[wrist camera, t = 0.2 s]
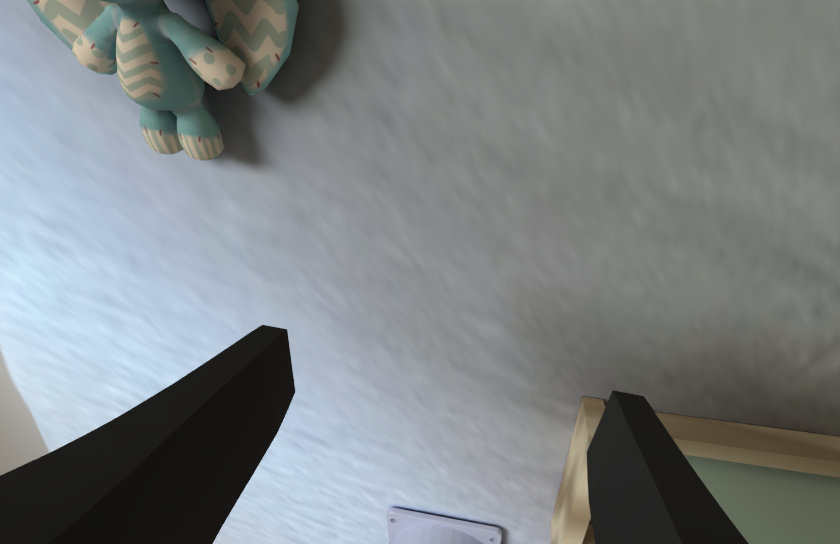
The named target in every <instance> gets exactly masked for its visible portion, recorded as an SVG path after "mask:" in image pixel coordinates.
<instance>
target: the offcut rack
mask: <svg viewBox="0 0 840 544" xmlns="http://www.w3.org/2000/svg"><path fill="white" fill-rule="evenodd" d="M605 408H606V405H604V401H603V399H597V398H590V397H582V400H581V404H580V409H579V413H578V417H577V421H576V425H575V429H574V433H573V437H572V441H571V445H570V449H569V453H568V457H567V461H566V465H565V469H564V473H563V477H562V481H561V485H560V489H559V493H558V497H557V501H556V505H555V509H554V513H553V517H552V521H551V544H595V539H594V533H593V526H592V524H590V523H589V521H590V518H591V514H590V507H589V498H588V480H587V450H588V448H589V445H590V443H591V441H592V438H593V436H594V434H595V431H596V429H597V427H598V424H599V422H600V420H601V417H602V415H603V412H604V410H605ZM655 413H656V415H657V416H658V418H659V419H660V421H661V422H662V424H663V425H664V427H665V428H666V430H667V431H668V433H669V434H670V436H671V437H672V438H673V440H674V441H675V443H676V444H677V446H678V447H679V449H680V450H681V452H682V453H683V454H684V455H691V456H698V457H704V458H711V459H718V460H725V461H731V462H738V463H745V464H751V465H758V466H765V467H771V468H778V469H785V470H792V471H798V472H805V473H812V474H818V475H825V476H832V477H839V478H840V437H837V436H830V435H823V434H815V433H808V432H800V431H793V430H785V429H778V428H771V427H763V426H756V425H748V424H741V423H733V422H726V421H719V420H711V419H704V418H696V417H689V416H681V415H674V414H667V413H659V412H655Z"/></svg>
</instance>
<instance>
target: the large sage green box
mask: <svg viewBox="0 0 840 544" xmlns="http://www.w3.org/2000/svg"><path fill="white" fill-rule="evenodd" d="M683 455H684V454H683ZM684 456H685V457H686V459H687V460H688V462H689V463H690V465H691V466H692V468H693V469H694V470H695V472H696V473H697V475H698V476H699V477H700V479H701V480H702V482H703V483H704V484H705V486H706V487H707V488H708V490H709V491H710V493H711V494H712V495H713V497H714V498H715V499H716V501H717V502H718V504H719V505H720V506H721V508H722V509H723V510H724V512H725V513H726V514H727V516H728V517H729V518H730V520H731V521H732V522H733V524H734V525H735V526H736V528H737V529H738V530H739V532H740V533H741V534H742V535H743V537H744V538H745V539H746V541H747V542H748V543H749V544H840V478H839V477H832V476H825V475H818V474H812V473H805V472H798V471H792V470H785V469H778V468H771V467H765V466H758V465H751V464H745V463H738V462H731V461H725V460H718V459H711V458H704V457H698V456H691V455H684Z"/></svg>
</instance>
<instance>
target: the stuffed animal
mask: <svg viewBox="0 0 840 544" xmlns="http://www.w3.org/2000/svg"><path fill="white" fill-rule="evenodd" d="M27 1H28V2H29V4H30V5H31V7H32V8H33V10H34V11H35V12H36V14H37V15H38V17H39V18H40V20H41V21H42V22H43V23H44V24H45V25H46V26H47V27H48V28H49V29H50V30H51V31H52V32H53V33H54V34H55V35H56V36H57V37H58V38H59V39H60V40H61V41H62V42H64V43H65V44H66V45H67V46H68V47H69V48H70V49H71V50H72V53H73V54H74V56H75V57H76V58H77V59H78V61H79V62H80V63H81V64H82V65H84V66H85V67H87V68H89V69H91V70H93V71H95V72H97V73H99V74H110V75H112V74H114V73H116V72H117V74H118V79H119V81H120V84H121V86H122V88H123V90H124V92H125V94H126V95H127V96H128V97H129V98H131V99H132V100H133V101H134V102H136V103H137V104H140V105H141V111H140V126H141V130H142V133H143V136H144V138H145V139H146V141H147V143H148V145H149V146H150V148H151V149H152V150H154V151H156V152H158V153H162V154H175V153H177V152H180V151H182V150H183V149H184V150H185V152H186V154H187V155H188V156H190V157H192V158H194V159H198V160H210V159H213V158H215V157H217V156H218V155H219V154H221V153H222V151H223V149H224V143H223V137H222V132H221V130H220V128H219V126H218V124H217V122H216V120H215V119H214V118H213V117H212V115H211V114H210V113H209V112H208V110H207V109H206V107H205V106H204V104H203V102H202V100H201V99H202V97H203V94H204V91H205V86H204V81H206V82H207V83H209V84H210V85H212V86H213V87H214V88H216V89H217V90H223V89H229V88H233V87H234V86H235V85H236V84H237V83H239V82H240V83H241V85H242V87H243V88H244V89H245V90H246V91H247V93H248V94H249V95H250V96H251V95H254V94H256V93H258V92H260V91H262V90H264V89H266V87H267V86H268V85H269V83H270V82H271V80H272V79H273V78H274V76H275V75H276V73H277V72H278V71H279V69H280V68H281V66H282V65H283V64H284V62H285V61H286V59H287V58H288V57H289V55H290V51H291V45H292V40H293V35H294V30H295V25H296V20H297V14H298V9H299V6H298V3H297V0H205V2H206V5H207V8H208V11H209V14H210V17H211V20H212V23H213V25H214V28H215V31H216V34H217V36H218V38H219V40H220V42H221V43H220V42H218V41H217V40H215V39H213V38H212V37H211V36H209V35H208V34H206V33H205V32H203V31H202V30H200V29H198V28H196V27H194V26H193V25H191V24H190V23H189V22H187V21H186V20H185V19H184V18H183V17H181V16H180V15H179V14H177V13H173V12H171V11H170V10H169V9H168V7H167V6H166V4H165V2H164V0H27ZM172 111H173V112H174V113H175V114H174V113H173V112H172Z"/></svg>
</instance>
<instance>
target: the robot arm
mask: <svg viewBox="0 0 840 544" xmlns="http://www.w3.org/2000/svg"><path fill="white" fill-rule="evenodd" d="M294 393H295V386H294V379H293V371H292V363H291V356H290V348H289V341H288V333H287V329H282V328H276V327H271V326H266V325H262V326H260V327H258V328H257V329H255V330H254V331H252V332H251V333H249V334H248V335H246V336H245V337H243V338H242V339H240V340H239V341H237V342H236V343H234V344H233V345H231V346H230V347H228V348H227V349H225V350H224V351H222V352H221V353H219V354H218V355H216V356H215V357H213V358H212V359H210V360H209V361H207V362H206V363H204V364H203V365H201V366H200V367H198V368H197V369H195V370H194V371H192V372H191V373H189V374H188V375H186V376H185V377H183V378H181V379H180V380H178V381H177V382H175V383H174V384H172V385H170V386H169V387H167V388H165V389H164V390H162V391H161V392H159V393H157V394H156V395H154V396H152V397H151V398H149V399H147V400H146V401H144V402H142V403H141V404H139V405H137V406H136V407H134V408H132V409H131V410H129V411H127V412H126V413H124V414H122V415H121V416H119V417H117V418H115V419H113V420H112V421H110V422H108V423H106V424H104V425H103V426H101V427H99V428H97V429H95V430H93V431H92V432H90V433H88V434H86V435H84V436H82V437H80V438H78V439H76V440H74V441H72V442H70V443H68V444H66V445H64V446H63V447H61V448H59V449H57V450H55V451H53V452H50V453H48V454H46V455H44V456H42V457H40V458H38V459H36V460H33V461H31V462H29V463H27V464H25V465H23V466H21V467H18V468H16V469H14V470H12V471H10V472H7V473H5V474H3V475H1V476H0V544H213V542H214V540H215V538H216V536H217V534H218V533H219V531H220V529H221V527H222V525H223V524H224V522H225V520H226V518H227V517H228V515H229V513H230V512H231V510H232V508H233V507H234V505H235V503H236V502H237V500H238V498H239V497H240V495H241V493H242V492H243V490H244V488H245V487H246V485H247V483H248V482H249V480H250V478H251V477H252V475H253V473H254V472H255V470H256V468H257V466H258V465H259V463H260V461H261V460H262V458H263V456H264V455H265V453H266V451H267V449H268V448H269V446H270V444H271V443H272V441H273V439H274V437H275V436H276V434H277V432H278V430H279V428H280V426H281V423H282V421H283V419H284V417H285V415H286V412H287V410H288V408H289V405H290V403H291V401H292V398H293V396H294ZM587 480H588V498H589V507H590V514H591V520H592V526H593V533H594V539H595V544H749V543H748V542H747V541H746V539H745V538H744V537H743V535H742V534H741V533H740V532H739V530H738V529H737V528H736V526H735V525H734V524H733V522H732V521H731V520H730V518H729V517H728V516H727V514H726V513H725V512H724V510H723V509H722V508H721V506H720V505H719V504H718V502H717V501H716V499H715V498H714V497H713V495H712V494H711V493H710V491H709V490H708V488H707V487H706V486H705V484H704V483H703V482H702V480H701V479H700V477H699V476H698V475H697V473H696V472H695V470H694V469H693V468H692V466H691V465H690V463H689V462H688V460H687V459H686V457H685V456H684V455H683V453H682V452H681V450H680V449H679V447H678V446H677V444H676V443H675V441H674V440H673V438H672V437H671V436H670V434H669V433H668V431H667V430H666V428H665V427H664V425H663V424H662V422H661V421H660V419H659V418H658V416H657V415H656V413H655V412H654V410H653V409H652V407H651V406H650V405H649V403H648V402H647V400H646V399H645V397H644V396H639V395H634V394H629V393H623V392H618V391H612V394H611V396H610V398H609V401H608V403H607V405H606V408H605V410H604V412H603V415H602V417H601V420H600V422H599V424H598V427H597V429H596V431H595V434H594V436H593V438H592V441H591V443H590V445H589V448H588V450H587ZM387 523H388V532H389V541H390V544H501V539H502V531H501V530H500V529H499V528H497V527H493V526H488V525H482V524H477V523H472V522H467V521H461V520H456V519H451V518H446V517H440V516H435V515H430V514H424V513H419V512H414V511H409V510H403V509H398V508H389V509H388V512H387Z"/></svg>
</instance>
